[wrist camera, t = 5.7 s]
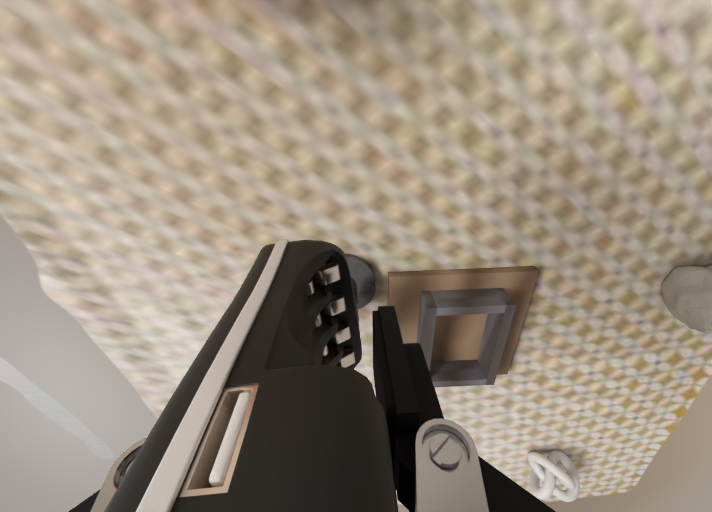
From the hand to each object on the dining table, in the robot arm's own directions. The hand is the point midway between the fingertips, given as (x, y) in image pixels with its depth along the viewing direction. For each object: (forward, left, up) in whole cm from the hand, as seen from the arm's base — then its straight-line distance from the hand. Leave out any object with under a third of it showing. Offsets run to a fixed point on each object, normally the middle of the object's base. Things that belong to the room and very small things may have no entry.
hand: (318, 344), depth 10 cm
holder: (-13, +17, -20) cm, 29 cm away
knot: (-32, +47, -20) cm, 61 cm away
